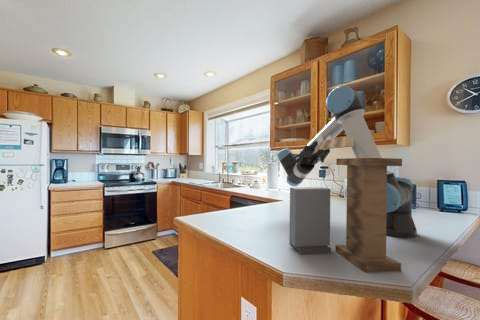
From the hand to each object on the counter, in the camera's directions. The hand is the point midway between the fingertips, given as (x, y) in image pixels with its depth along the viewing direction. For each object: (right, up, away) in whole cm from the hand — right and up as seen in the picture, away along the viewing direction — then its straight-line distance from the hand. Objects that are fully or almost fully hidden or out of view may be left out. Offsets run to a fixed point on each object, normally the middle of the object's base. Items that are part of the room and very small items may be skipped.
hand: (326, 138), depth 92 cm
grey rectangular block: (-11, -38, -13) cm, 42 cm away
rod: (0, -4, -4) cm, 6 cm away
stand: (+3, -38, -23) cm, 45 cm away
